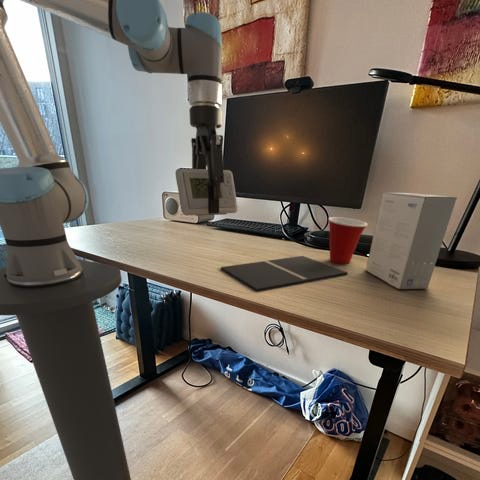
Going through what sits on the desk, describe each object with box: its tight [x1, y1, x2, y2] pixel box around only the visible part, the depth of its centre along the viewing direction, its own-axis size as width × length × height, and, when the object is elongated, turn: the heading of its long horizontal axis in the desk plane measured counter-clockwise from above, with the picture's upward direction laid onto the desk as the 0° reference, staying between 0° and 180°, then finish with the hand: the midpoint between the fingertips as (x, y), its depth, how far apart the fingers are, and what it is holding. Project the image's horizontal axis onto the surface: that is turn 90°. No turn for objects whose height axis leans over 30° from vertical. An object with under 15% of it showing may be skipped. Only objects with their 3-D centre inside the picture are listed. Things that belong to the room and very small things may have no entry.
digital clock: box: [174, 168, 239, 217], centre depth 78 cm, size 16×9×11 cm, turn 110°
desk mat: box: [220, 255, 348, 292], centre depth 79 cm, size 28×18×1 cm, turn 119°
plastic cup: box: [328, 216, 368, 265], centre depth 87 cm, size 11×11×12 cm
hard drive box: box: [365, 192, 458, 290], centre depth 71 cm, size 16×8×20 cm, turn 8°
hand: (207, 211), depth 80 cm, fingers closed on digital clock, 7 cm apart
